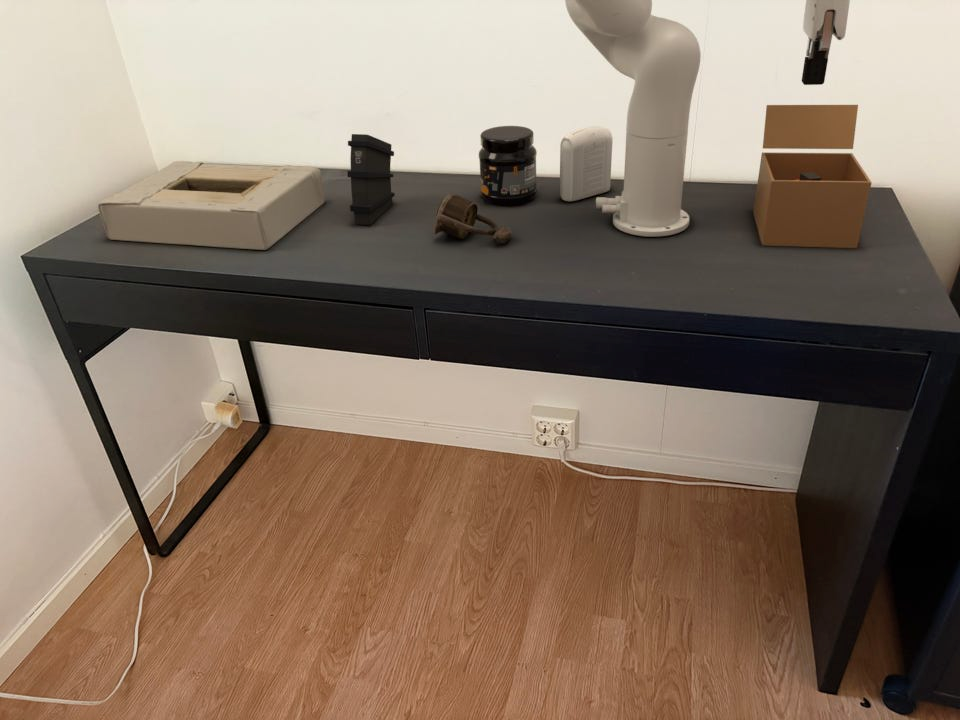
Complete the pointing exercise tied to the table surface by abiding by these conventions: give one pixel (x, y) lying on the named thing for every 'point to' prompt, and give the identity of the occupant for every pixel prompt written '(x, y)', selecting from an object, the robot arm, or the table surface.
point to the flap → (810, 126)
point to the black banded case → (370, 178)
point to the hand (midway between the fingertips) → (812, 83)
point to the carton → (810, 200)
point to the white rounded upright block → (585, 163)
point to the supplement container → (508, 165)
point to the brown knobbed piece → (466, 220)
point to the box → (214, 205)
